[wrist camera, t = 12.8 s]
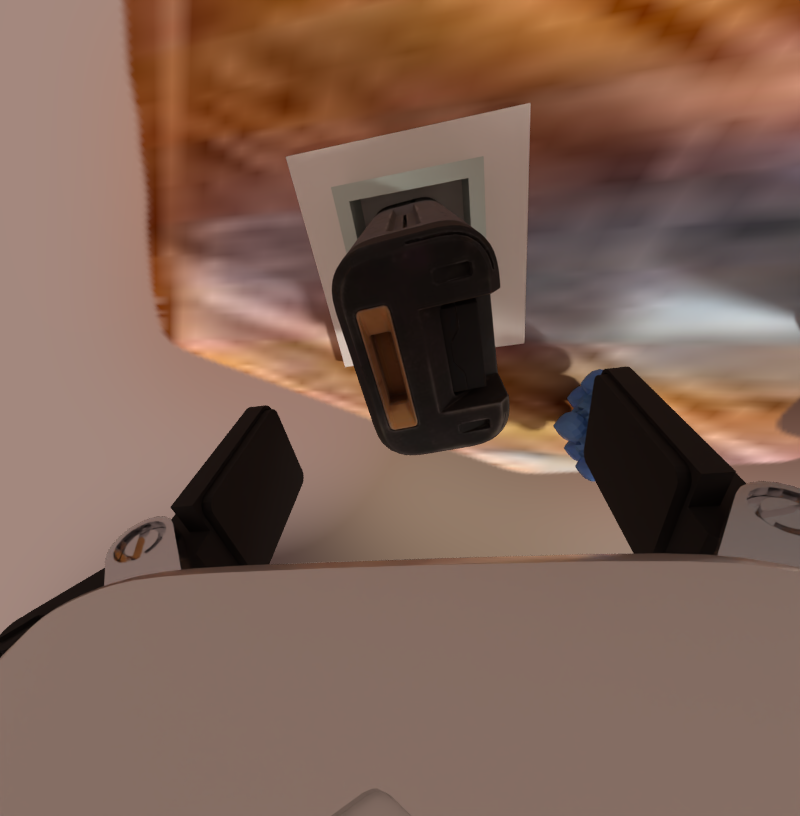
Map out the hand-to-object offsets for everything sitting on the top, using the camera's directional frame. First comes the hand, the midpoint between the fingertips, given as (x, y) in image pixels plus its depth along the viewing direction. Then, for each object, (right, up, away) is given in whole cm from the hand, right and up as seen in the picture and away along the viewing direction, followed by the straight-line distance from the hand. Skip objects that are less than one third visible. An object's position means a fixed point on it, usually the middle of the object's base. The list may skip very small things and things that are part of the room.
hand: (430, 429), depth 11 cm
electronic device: (0, +13, +20) cm, 24 cm away
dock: (+1, +14, +21) cm, 25 cm away
